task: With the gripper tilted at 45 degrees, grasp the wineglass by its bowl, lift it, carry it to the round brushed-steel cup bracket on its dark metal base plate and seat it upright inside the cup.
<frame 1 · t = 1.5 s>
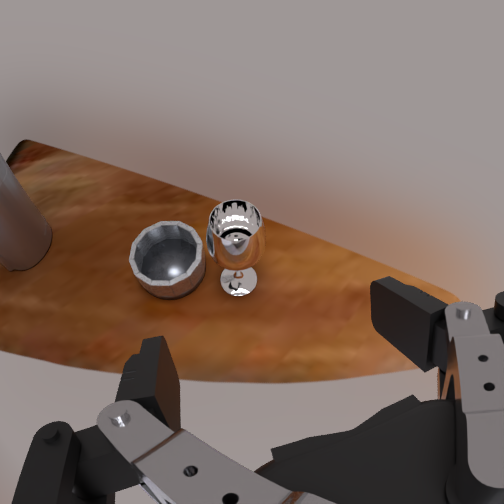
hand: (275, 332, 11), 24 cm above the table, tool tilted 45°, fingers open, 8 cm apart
wineglass: (238, 280, 39), on the table
cup bracket: (172, 267, 40), on the table
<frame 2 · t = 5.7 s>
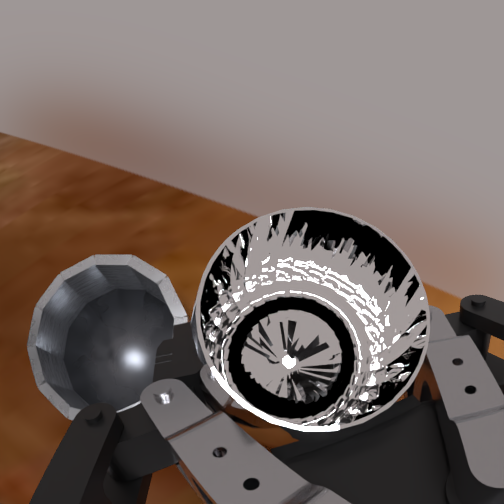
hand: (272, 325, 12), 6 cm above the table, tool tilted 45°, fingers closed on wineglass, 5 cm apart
wineglass: (274, 387, 16), on the table, touching gripper
cup bracket: (126, 354, 17), on the table
when the fingers open (8 cm above the table, at t = 11.1 s): wineglass drops 1 cm, resting on cup bracket.
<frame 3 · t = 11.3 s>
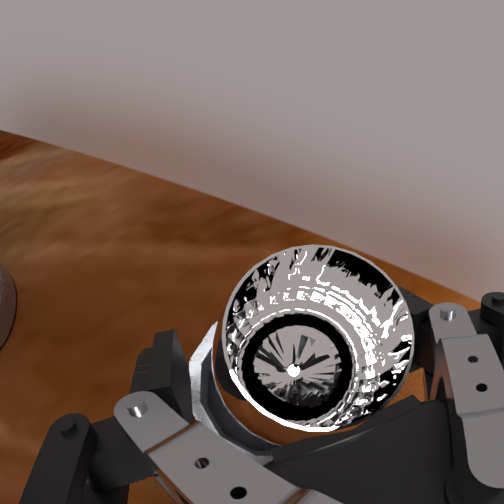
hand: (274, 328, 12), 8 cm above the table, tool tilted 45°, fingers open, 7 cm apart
wineglass: (279, 391, 17), point 1 cm above the table, touching cup bracket
cup bracket: (271, 391, 18), on the table
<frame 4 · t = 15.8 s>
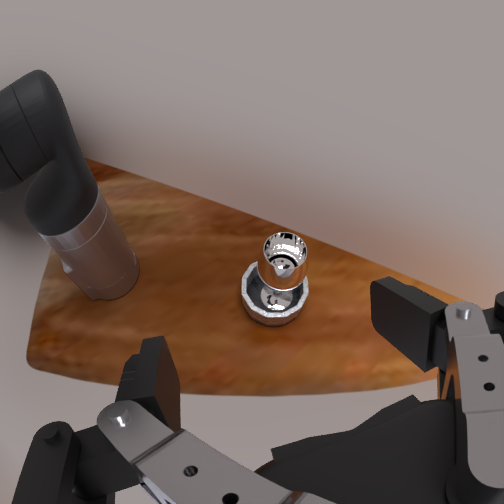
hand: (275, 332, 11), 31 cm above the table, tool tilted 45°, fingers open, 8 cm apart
wineglass: (276, 296, 44), point 1 cm above the table, touching cup bracket
cup bracket: (273, 297, 45), on the table
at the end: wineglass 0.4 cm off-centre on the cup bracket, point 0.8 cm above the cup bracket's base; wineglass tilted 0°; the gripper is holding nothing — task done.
